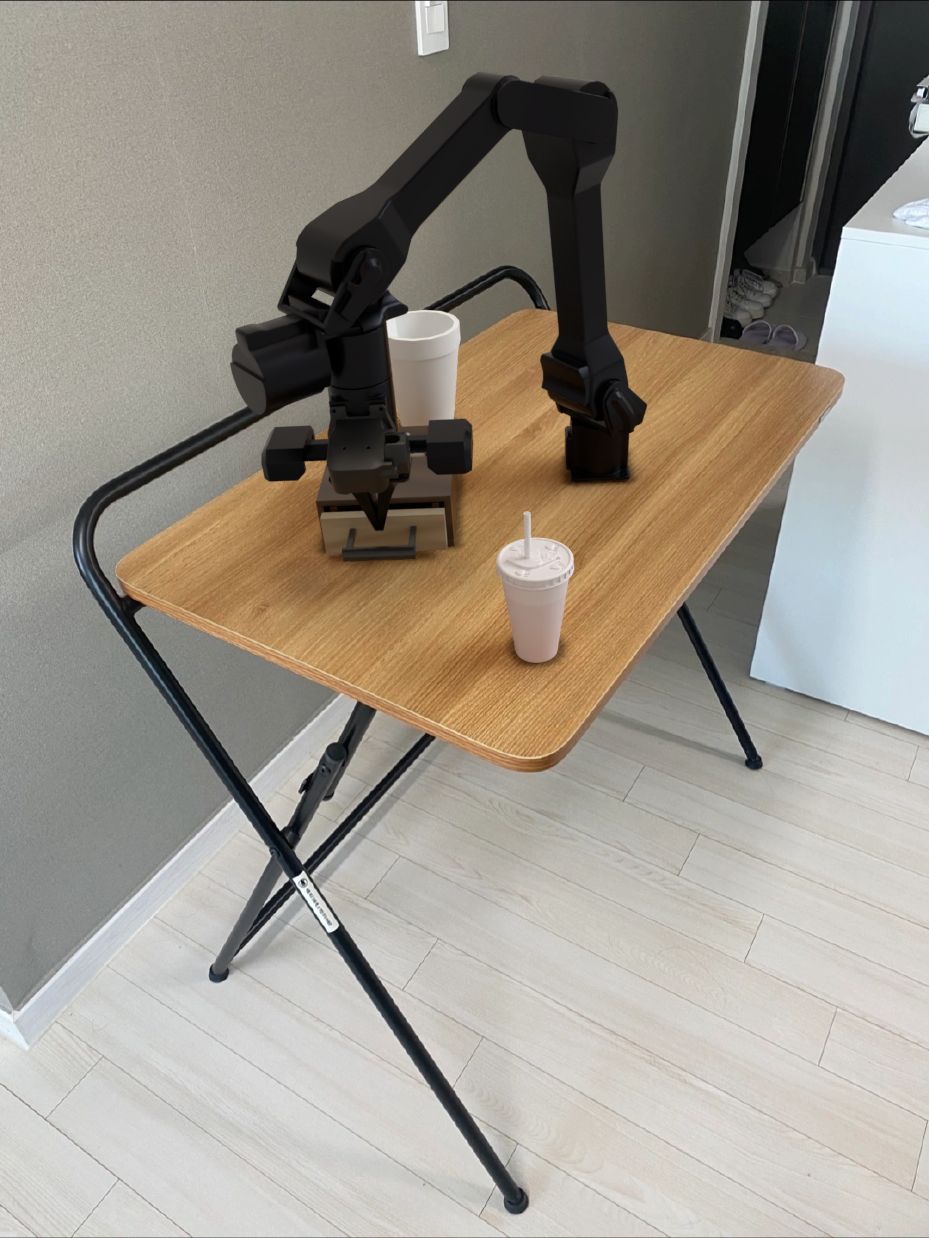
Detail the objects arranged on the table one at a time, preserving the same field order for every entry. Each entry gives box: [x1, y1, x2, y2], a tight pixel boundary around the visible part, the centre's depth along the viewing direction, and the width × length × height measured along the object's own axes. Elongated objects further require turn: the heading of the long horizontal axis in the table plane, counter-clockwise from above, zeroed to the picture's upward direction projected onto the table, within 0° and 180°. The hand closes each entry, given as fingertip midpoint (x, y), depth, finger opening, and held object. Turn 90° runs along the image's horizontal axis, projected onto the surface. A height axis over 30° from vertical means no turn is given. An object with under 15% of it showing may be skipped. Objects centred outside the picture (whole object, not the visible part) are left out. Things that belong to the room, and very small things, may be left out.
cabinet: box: [315, 425, 460, 551], centre depth 102 cm, size 15×13×6 cm
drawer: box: [320, 502, 448, 563], centre depth 99 cm, size 19×12×4 cm, turn 178°
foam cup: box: [386, 309, 461, 427], centre depth 115 cm, size 10×9×13 cm
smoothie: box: [495, 511, 575, 664], centre depth 80 cm, size 6×6×14 cm
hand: (380, 528), depth 92 cm, fingers closed
